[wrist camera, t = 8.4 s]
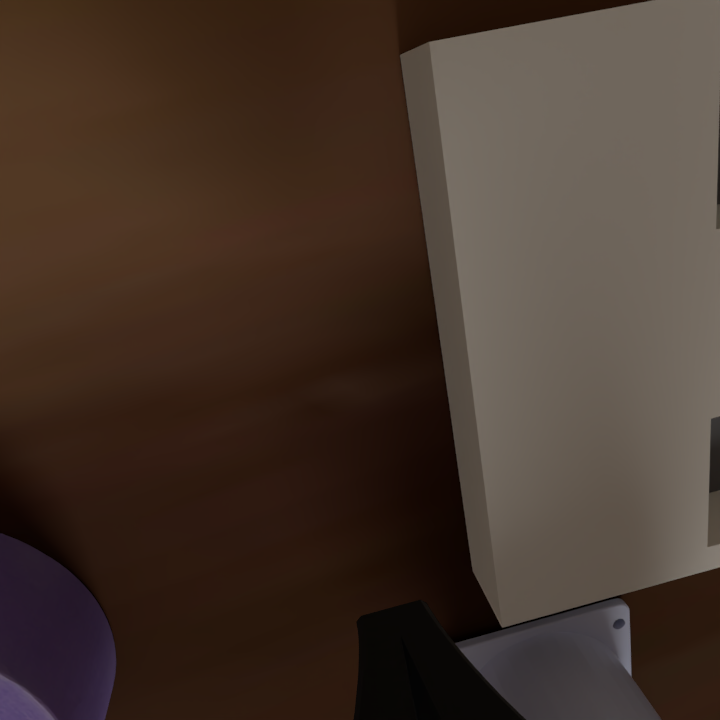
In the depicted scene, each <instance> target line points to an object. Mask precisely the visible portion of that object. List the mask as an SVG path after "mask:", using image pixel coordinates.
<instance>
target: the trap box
mask: <svg viewBox="0 0 720 720" xmlns="http://www.w3.org/2000/svg"><path fill="white" fill-rule="evenodd" d="M400 59H401V66H402V73H403V81H404V88H405V95H406V102H407V109H408V116H409V123H410V130H411V137H412V145H413V152H414V159H415V166H416V173H417V180H418V187H419V194H420V201H421V208H422V216H423V223H424V230H425V237H426V244H427V251H428V258H429V265H430V272H431V279H432V287H433V294H434V301H435V308H436V315H437V322H438V329H439V336H440V343H441V350H442V358H443V365H444V372H445V379H446V386H447V393H448V400H449V407H450V414H451V421H452V429H453V436H454V443H455V450H456V457H457V464H458V471H459V478H460V485H461V492H462V500H463V507H464V514H465V521H466V528H467V535H468V542H469V549H470V556H471V564H472V571H473V573H474V574H475V576H476V578H477V580H478V582H479V584H480V586H481V588H482V590H483V592H484V594H485V596H486V598H487V600H488V602H489V603H490V605H491V607H492V609H493V611H494V613H495V615H496V617H497V619H498V621H499V623H500V625H501V627H502V628H503V627H507V626H511V625H514V624H518V623H521V622H525V621H528V620H532V619H536V618H539V617H543V616H546V615H550V614H553V613H557V612H561V611H564V610H568V609H571V608H575V607H579V606H582V605H586V604H589V603H593V602H596V601H600V600H604V599H607V598H611V597H614V596H618V595H621V594H625V593H629V592H632V591H636V590H639V589H643V588H647V587H650V586H654V585H657V584H661V583H664V582H668V581H672V580H675V579H679V578H682V577H686V576H689V575H693V574H697V573H700V572H704V571H707V570H711V569H714V568H718V567H720V0H652V1H647V2H642V3H636V4H631V5H625V6H620V7H615V8H609V9H604V10H598V11H593V12H588V13H582V14H577V15H571V16H566V17H561V18H555V19H550V20H544V21H539V22H534V23H528V24H523V25H517V26H512V27H506V28H501V29H496V30H490V31H485V32H479V33H474V34H469V35H463V36H458V37H452V38H447V39H442V40H436V41H431V42H428V43H425V44H423V45H421V46H419V47H416V48H414V49H412V50H410V51H407V52H405V53H403V54H401V55H400Z"/></svg>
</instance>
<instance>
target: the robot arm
mask: <svg viewBox="0 0 720 720" xmlns="http://www.w3.org/2000/svg"><path fill="white" fill-rule="evenodd" d="M616 620H617V621H616ZM357 627H358V636H359V672H358V685H357V695H356V705H355V714H354V720H661V718H660V717H659V715H658V714H657V712H656V711H655V710H654V708H653V707H652V705H651V704H650V703H649V701H648V700H647V698H646V697H645V695H644V694H643V693H642V691H641V690H640V688H639V687H638V686H637V684H636V683H635V681H634V680H633V679H632V677H631V644H630V610H629V607H628V606H627V604H626V603H625V602H624V601H623V600H622V599H619V598H616V599H611V600H607V601H604V602H600V603H597V604H593V605H589V606H586V607H582V608H579V609H575V610H572V611H568V612H564V613H561V614H557V615H554V616H550V617H547V618H543V619H539V620H536V621H532V622H529V623H525V624H522V625H518V626H514V627H511V628H507V629H504V630H500V631H497V632H493V633H489V634H486V635H482V636H479V637H475V638H472V639H468V640H464V641H461V642H457V643H454V642H453V640H452V639H451V638H450V637H449V635H448V634H447V633H446V631H445V630H444V629H443V627H442V626H441V625H440V623H439V622H438V620H437V619H436V617H435V616H434V614H433V613H432V611H431V610H430V608H429V606H428V605H427V603H425V602H424V601H422V600H418V601H414V602H411V603H407V604H403V605H400V606H396V607H392V608H389V609H385V610H381V611H377V612H374V613H370V614H366V615H363V616H361V617H360V618H359V619H358V621H357Z"/></svg>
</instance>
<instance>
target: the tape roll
mask: <svg viewBox="0 0 720 720" xmlns="http://www.w3.org/2000/svg"><path fill="white" fill-rule="evenodd" d="M115 671H116V652H115V644H114V639H113V635H112V631H111V628H110V626H109V623H108V620H107V618H106V616H105V614H104V612H103V611H102V609H101V607H100V605H99V604H98V602H97V601H96V599H95V598H94V596H93V595H92V594H91V593H90V591H89V590H88V589H87V588H86V587H85V586H84V585H83V584H82V583H81V582H80V580H78V579H77V578H76V577H75V576H74V575H73V574H72V573H71V572H70V571H69V570H67V569H66V568H65V567H63V566H62V565H61V564H60V563H58V562H57V561H55V560H54V559H52V558H51V557H49V556H47V555H46V554H44V553H42V552H41V551H39V550H37V549H35V548H34V547H32V546H30V545H28V544H26V543H24V542H22V541H20V540H17V539H15V538H12V537H9V536H7V535H4V534H1V533H0V720H105V716H106V712H107V708H108V704H109V700H110V696H111V692H112V688H113V683H114V678H115Z"/></svg>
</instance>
